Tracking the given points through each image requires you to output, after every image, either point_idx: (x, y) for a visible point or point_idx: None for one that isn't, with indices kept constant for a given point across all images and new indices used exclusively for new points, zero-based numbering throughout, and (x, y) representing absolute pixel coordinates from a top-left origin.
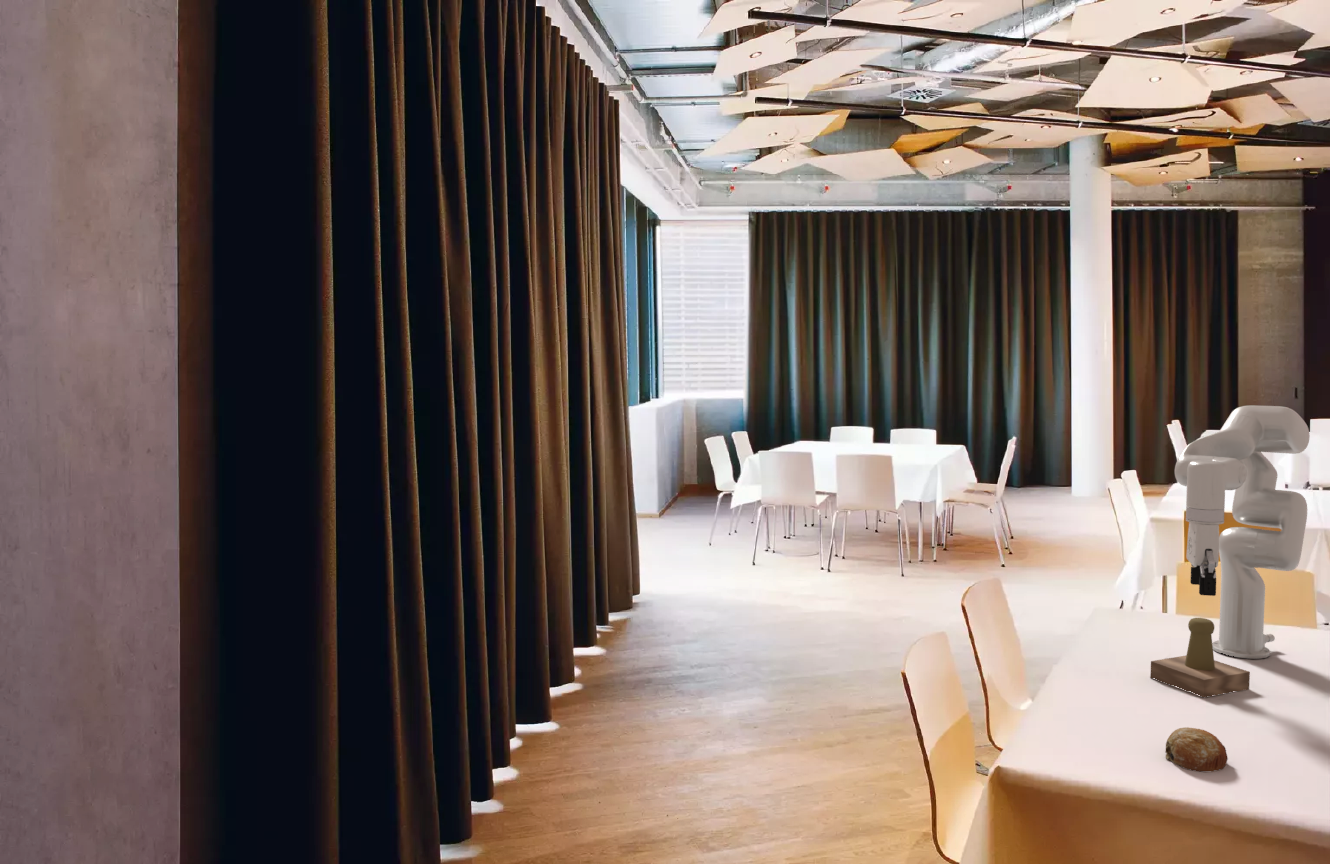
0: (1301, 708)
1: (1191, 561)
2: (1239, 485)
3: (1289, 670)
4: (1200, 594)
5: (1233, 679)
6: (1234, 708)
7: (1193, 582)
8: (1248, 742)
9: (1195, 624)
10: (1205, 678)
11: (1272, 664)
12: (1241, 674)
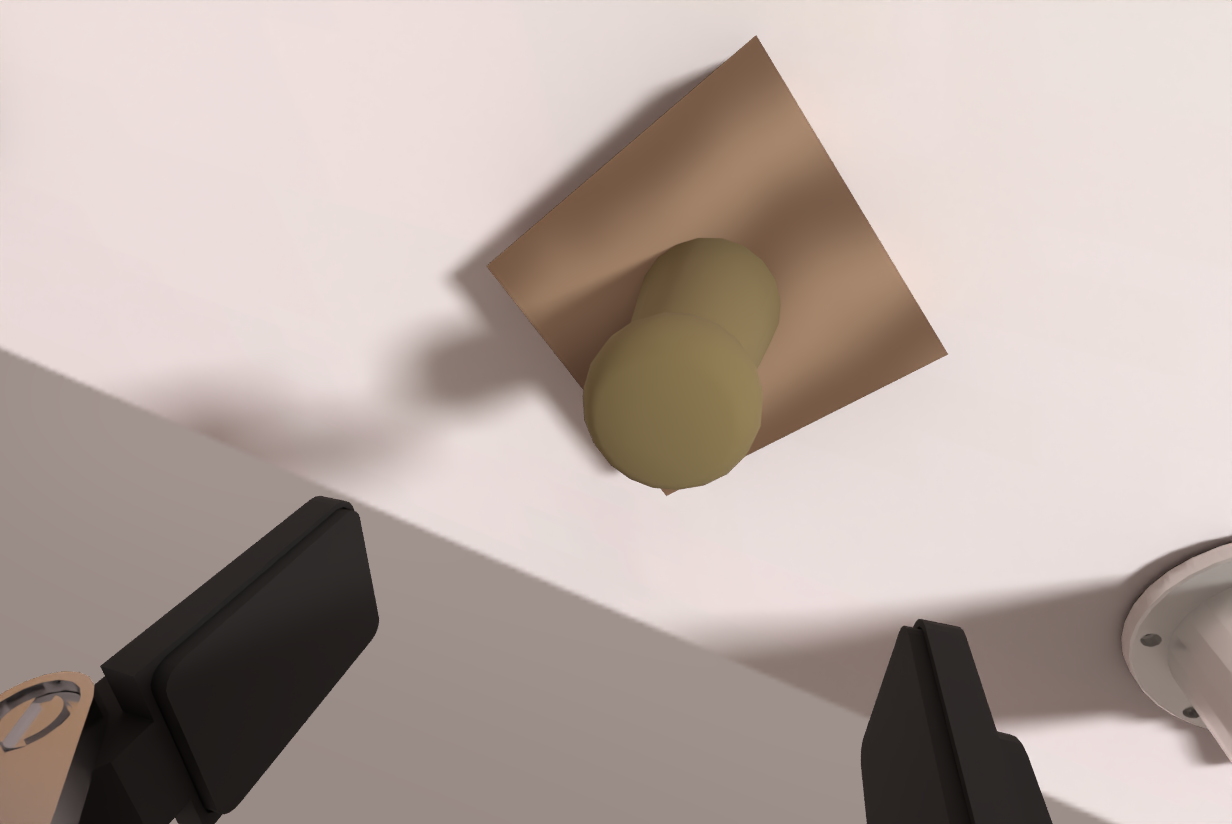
0: (518, 530)
1: None
2: None
3: None
4: (321, 499)
5: None
6: (438, 327)
7: (900, 655)
8: (147, 265)
9: (604, 356)
10: (510, 277)
11: (1039, 660)
12: None
